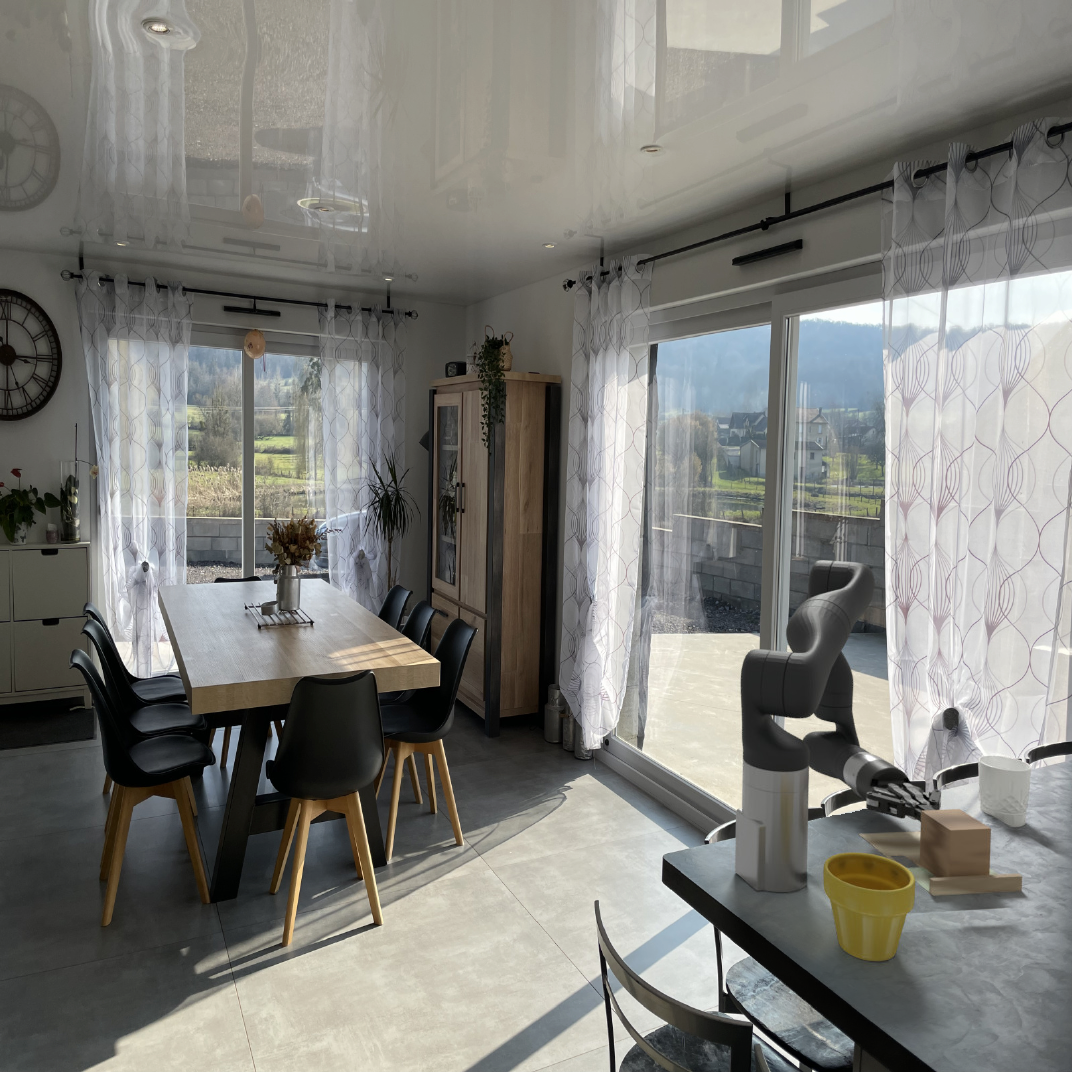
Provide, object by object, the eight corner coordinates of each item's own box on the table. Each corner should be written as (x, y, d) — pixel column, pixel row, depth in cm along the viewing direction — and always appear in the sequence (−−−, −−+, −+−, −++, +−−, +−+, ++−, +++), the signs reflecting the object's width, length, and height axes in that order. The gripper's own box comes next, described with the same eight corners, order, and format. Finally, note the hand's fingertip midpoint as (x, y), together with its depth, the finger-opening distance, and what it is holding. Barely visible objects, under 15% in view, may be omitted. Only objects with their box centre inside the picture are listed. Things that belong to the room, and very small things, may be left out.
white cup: (1039, 829, 135) (1041, 771, 135) (991, 829, 135) (993, 770, 135) (1012, 811, 143) (1014, 755, 143) (967, 810, 143) (969, 755, 143)
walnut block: (919, 863, 119) (921, 810, 119) (957, 862, 120) (959, 809, 119) (948, 886, 112) (950, 830, 112) (989, 884, 113) (991, 828, 112)
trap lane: (858, 843, 130) (858, 821, 130) (934, 839, 131) (935, 818, 131) (932, 905, 110) (933, 880, 110) (1021, 901, 111) (1022, 876, 111)
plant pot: (872, 981, 93) (874, 898, 92) (804, 937, 102) (805, 861, 101) (931, 957, 98) (934, 878, 97) (861, 917, 107) (863, 845, 106)
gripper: (838, 760, 136) (895, 798, 119) (913, 757, 137) (979, 795, 120) (837, 803, 136) (893, 848, 119) (911, 800, 138) (977, 844, 121)
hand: (936, 821), depth 120 cm, fingers closed
